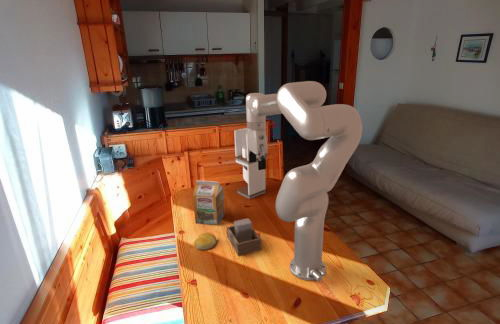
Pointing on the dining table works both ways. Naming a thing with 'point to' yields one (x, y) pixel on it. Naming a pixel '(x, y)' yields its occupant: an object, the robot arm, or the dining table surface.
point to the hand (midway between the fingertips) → (257, 165)
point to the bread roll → (205, 241)
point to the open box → (244, 246)
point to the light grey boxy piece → (248, 167)
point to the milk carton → (208, 203)
